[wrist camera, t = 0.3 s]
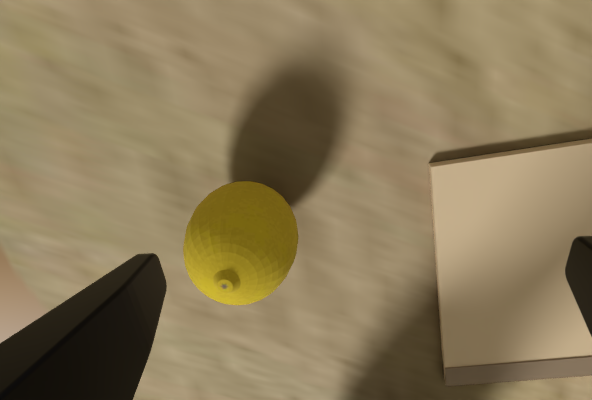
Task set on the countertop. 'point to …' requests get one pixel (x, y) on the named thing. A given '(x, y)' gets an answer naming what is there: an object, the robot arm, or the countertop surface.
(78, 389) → the robot arm
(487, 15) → the countertop surface
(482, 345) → the notepad
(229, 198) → the lemon
